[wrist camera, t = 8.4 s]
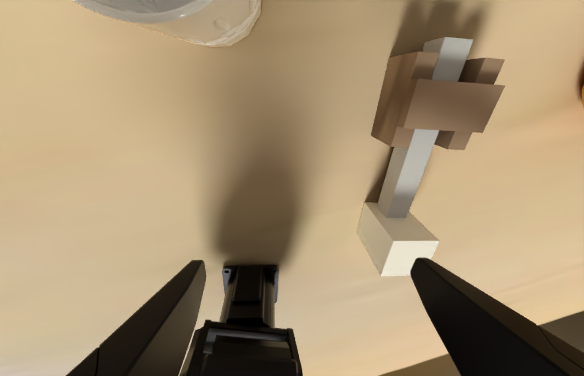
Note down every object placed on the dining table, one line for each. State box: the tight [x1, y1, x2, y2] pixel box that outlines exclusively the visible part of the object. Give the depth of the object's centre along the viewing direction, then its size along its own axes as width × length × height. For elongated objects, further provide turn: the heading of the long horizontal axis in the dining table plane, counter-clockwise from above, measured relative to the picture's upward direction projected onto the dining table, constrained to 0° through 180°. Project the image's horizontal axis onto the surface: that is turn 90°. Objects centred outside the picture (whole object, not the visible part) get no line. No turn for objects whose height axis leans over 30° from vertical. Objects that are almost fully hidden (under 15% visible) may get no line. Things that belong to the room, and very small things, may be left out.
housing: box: [371, 51, 505, 150], centre depth 14 cm, size 14×7×4 cm, turn 176°
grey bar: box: [357, 37, 473, 276], centre depth 17 cm, size 18×4×6 cm, turn 176°
